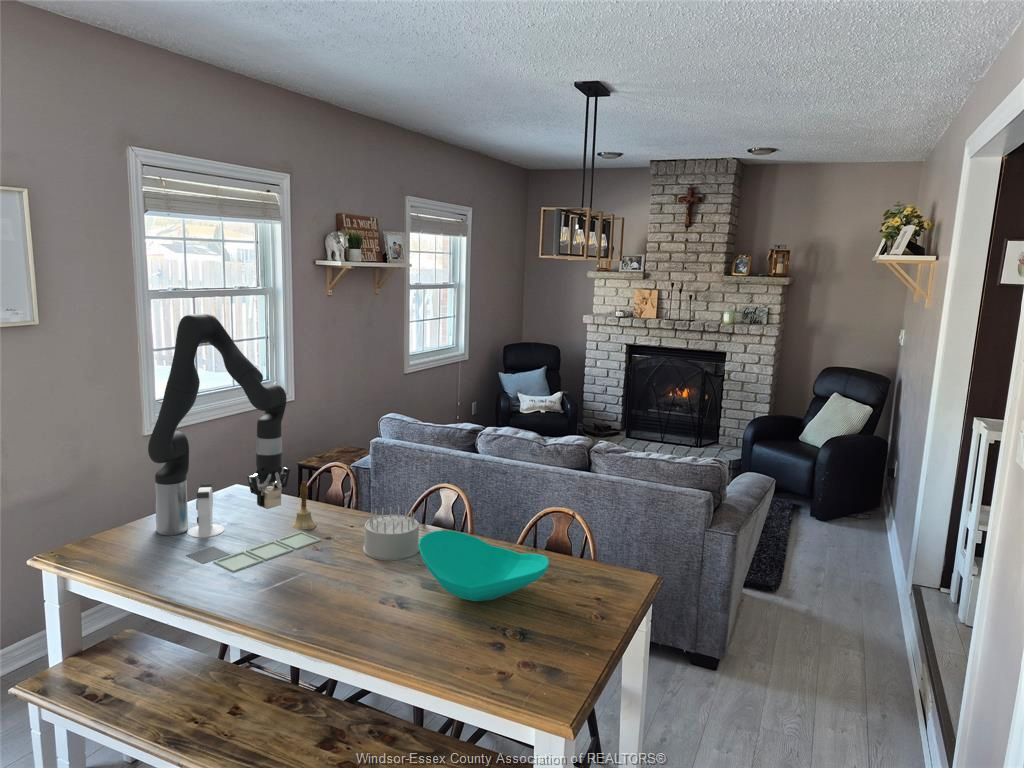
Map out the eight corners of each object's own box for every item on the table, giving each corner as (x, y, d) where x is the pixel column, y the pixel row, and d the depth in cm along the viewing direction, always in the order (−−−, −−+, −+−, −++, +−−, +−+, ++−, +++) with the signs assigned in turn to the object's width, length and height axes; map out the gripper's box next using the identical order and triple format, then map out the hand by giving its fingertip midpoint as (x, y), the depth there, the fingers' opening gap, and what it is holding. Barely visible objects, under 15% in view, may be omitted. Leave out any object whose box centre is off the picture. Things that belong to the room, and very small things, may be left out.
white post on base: (189, 525, 239) (188, 482, 237) (225, 523, 243) (225, 481, 240) (185, 539, 228) (183, 494, 225) (222, 536, 231) (221, 492, 229)
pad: (185, 557, 214) (185, 555, 214) (213, 548, 222) (213, 546, 222) (202, 565, 209) (202, 563, 209) (230, 556, 217) (230, 554, 217)
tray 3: (276, 542, 228) (276, 539, 228) (301, 534, 236) (301, 531, 236) (295, 551, 223) (295, 548, 223) (321, 541, 231) (321, 538, 231)
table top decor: (394, 593, 198) (395, 549, 195) (451, 560, 221) (453, 520, 219) (516, 636, 178) (519, 587, 176) (565, 595, 202) (568, 551, 199)
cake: (410, 563, 218) (411, 522, 216) (354, 557, 220) (354, 516, 218) (426, 541, 235) (427, 503, 233) (374, 536, 238) (375, 498, 236)
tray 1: (213, 564, 211) (213, 560, 210) (243, 553, 219) (243, 550, 219) (233, 573, 205) (233, 570, 205) (263, 562, 213) (263, 559, 213)
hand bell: (289, 523, 245) (289, 479, 243) (314, 521, 249) (314, 477, 246) (293, 532, 238) (292, 486, 235) (318, 529, 241) (318, 484, 239)
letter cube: (257, 505, 218) (257, 489, 217) (271, 501, 222) (271, 485, 221) (267, 509, 215) (267, 493, 214) (281, 505, 219) (281, 489, 218)
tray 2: (246, 553, 219) (246, 549, 219) (273, 543, 228) (273, 540, 227) (265, 561, 214) (265, 558, 214) (293, 552, 222) (293, 548, 222)
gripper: (281, 444, 223) (281, 495, 226) (240, 452, 212) (241, 506, 214) (296, 448, 219) (296, 501, 222) (256, 457, 207) (256, 512, 210)
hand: (269, 503), depth 218 cm, fingers closed on letter cube, 5 cm apart
